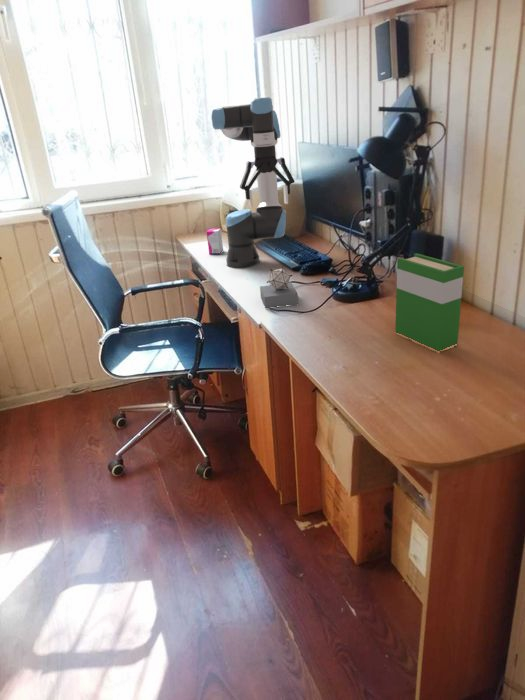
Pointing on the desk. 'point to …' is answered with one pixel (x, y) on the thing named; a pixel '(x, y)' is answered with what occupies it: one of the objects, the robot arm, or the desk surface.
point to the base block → (278, 296)
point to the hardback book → (429, 300)
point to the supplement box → (214, 241)
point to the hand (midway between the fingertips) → (268, 205)
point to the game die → (279, 278)
